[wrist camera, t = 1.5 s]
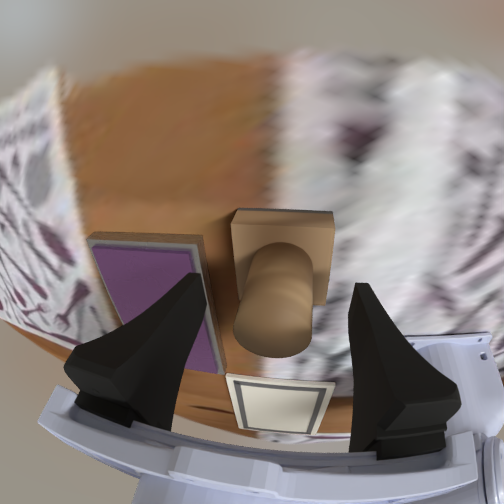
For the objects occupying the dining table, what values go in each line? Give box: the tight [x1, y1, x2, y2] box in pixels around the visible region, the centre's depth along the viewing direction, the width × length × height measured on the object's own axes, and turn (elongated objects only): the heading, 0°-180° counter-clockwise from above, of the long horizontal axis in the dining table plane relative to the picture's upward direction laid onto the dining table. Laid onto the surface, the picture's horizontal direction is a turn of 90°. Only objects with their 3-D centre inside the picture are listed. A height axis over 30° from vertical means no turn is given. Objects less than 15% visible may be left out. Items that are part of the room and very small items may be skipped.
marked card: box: [226, 373, 335, 435], centre depth 28 cm, size 10×14×1 cm
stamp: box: [231, 208, 335, 358], centre depth 14 cm, size 5×5×6 cm
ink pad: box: [87, 232, 227, 375], centre depth 21 cm, size 8×13×1 cm, turn 3°
